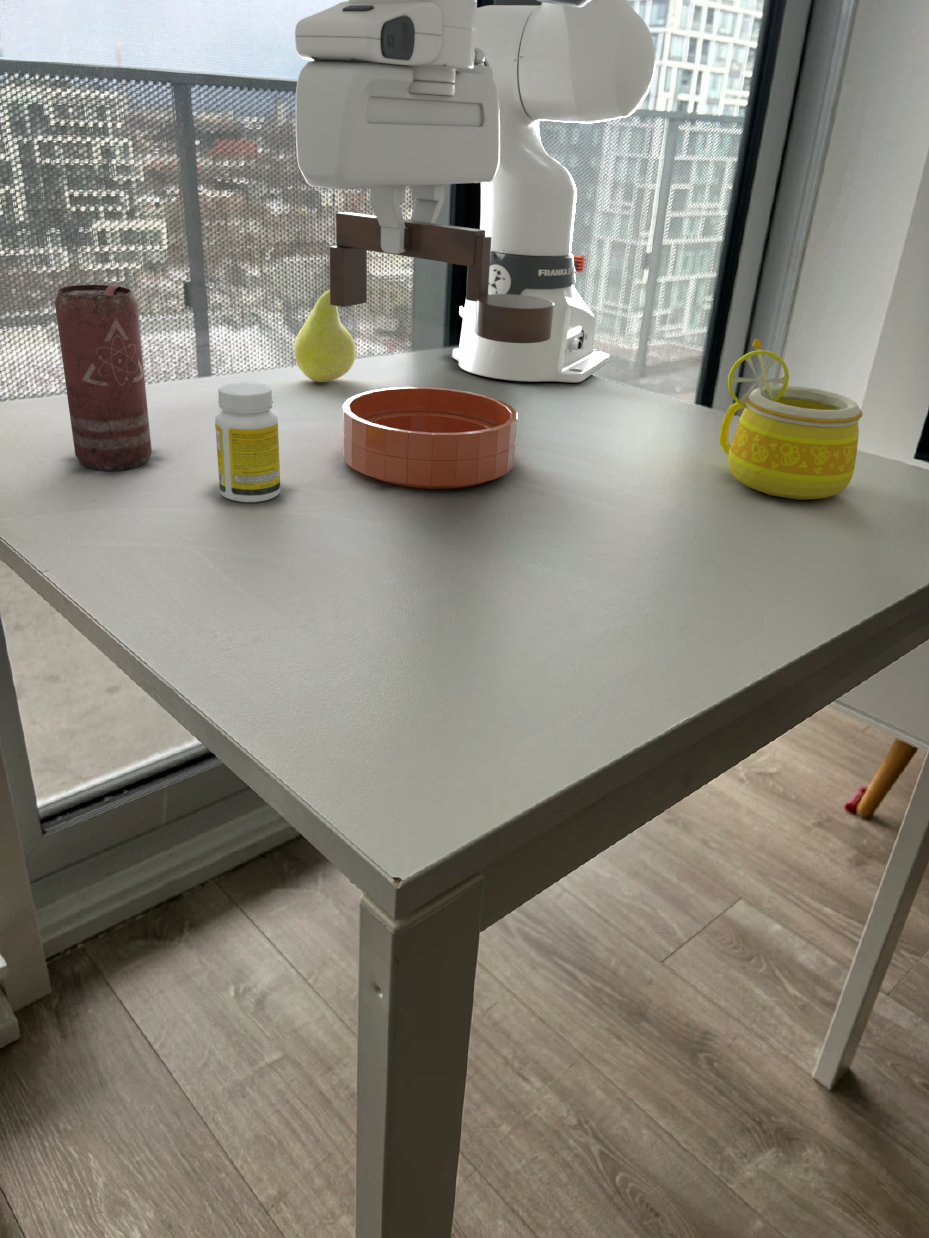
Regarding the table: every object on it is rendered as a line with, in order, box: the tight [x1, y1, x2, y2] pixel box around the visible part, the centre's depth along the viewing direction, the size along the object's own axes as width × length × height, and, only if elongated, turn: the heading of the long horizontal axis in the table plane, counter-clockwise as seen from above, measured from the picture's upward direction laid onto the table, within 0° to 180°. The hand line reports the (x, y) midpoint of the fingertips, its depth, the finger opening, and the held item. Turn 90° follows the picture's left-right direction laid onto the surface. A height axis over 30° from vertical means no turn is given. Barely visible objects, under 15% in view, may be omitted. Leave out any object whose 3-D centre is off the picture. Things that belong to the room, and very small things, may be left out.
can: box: [54, 284, 153, 472], centre depth 77 cm, size 6×6×14 cm
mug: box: [718, 338, 863, 501], centre depth 83 cm, size 13×11×12 cm
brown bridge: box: [328, 211, 554, 343], centre depth 71 cm, size 19×6×7 cm, turn 57°
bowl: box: [341, 386, 518, 490], centre depth 83 cm, size 15×15×5 cm
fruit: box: [293, 289, 357, 383], centre depth 106 cm, size 7×8×12 cm
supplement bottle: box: [214, 382, 281, 503], centre depth 73 cm, size 5×5×8 cm
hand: (406, 251), depth 72 cm, fingers closed on brown bridge
